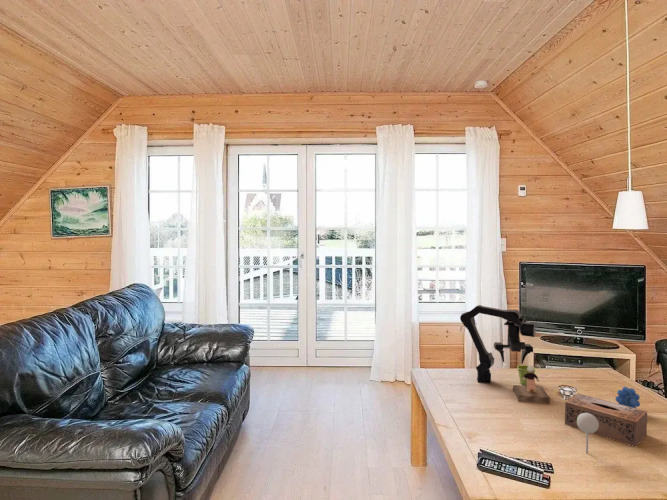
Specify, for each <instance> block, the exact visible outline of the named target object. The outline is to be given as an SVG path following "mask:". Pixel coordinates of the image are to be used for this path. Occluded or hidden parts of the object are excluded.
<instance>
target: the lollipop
mask: <svg viewBox="0 0 667 500" xmlns="http://www.w3.org/2000/svg"><path fill="white" fill-rule="evenodd" d="M577 425H578V427H579V428H580V429H579V428H578V429H579V430H580V431H582V432H583V433H586V434H585V439H586V440H585V453H586V454H588V453H589V434H594V432H596V431H597V429H598V427H599V423H598V420H597V419H596V417H595V416H593V415H592V414H589V413H582V414H580V415H579V416H578V417H577Z"/></svg>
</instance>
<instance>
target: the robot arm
mask: <svg viewBox="0 0 667 500" xmlns="http://www.w3.org/2000/svg"><path fill="white" fill-rule="evenodd" d="M479 314H482V315H486V316H492V317H496V318H501V319H503V320H505V321H506V322H504V323H503V325H504V326H507V344H503V342H497V341H496V342H494V343H493V349H495V350H496V351H497V352H499V354H500V357H501V360H502V363H505V350H504V349H510V351H511V352H517V353H521V358H520V364H521V365H523V363H524V361H525V359H526V357H527V356H528V354H531V353H534V347H533V346H532V345H531V344H530V343H526V342H525V341H521V340H520V339H521V338H520V335H522V336H524V337H531V338H535V337H536V332H537V331H536V325H535V323H533V322H531V323H528V322H526V321H525V320H524V318H523V317H522V315H521V314H522V313H521V312H520V311H519V310H517V309H500V308H495V307H489V306H484V305H481V304H478V305H476V306H474V308H472V309H471V310H470V311H469V310H468V311H466V312H464V313H461V315H460V316H459V320H460V322H461V323H462V325H463V326H464V327H465V328H466V329H467V331H468V333H469V335H470V337H471V340H472V341H473V344H474V346H475V349H476V351H477V353H478V359H479V364H478V365H477V366H476V367H475V368H476V371H477V375H476V380H477V383H485V384H491V381H492V373H491V370H490V369H491V368H492V367H493V366H494V365H495V357H494V355H493V353H492V352H489V351H488V350H487V349H486V346H485V344H484V342H483V340H482V337H481V335H480V333H479V330H478V329H477V326H476V319H475V317H476V316H477V315H479Z"/></svg>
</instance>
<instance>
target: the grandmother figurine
mask: <svg viewBox="0 0 667 500" xmlns="http://www.w3.org/2000/svg"><path fill="white" fill-rule="evenodd" d="M527 366H528V367H527V370H528V372H529V373H527V374H525V375H524V377H523V379H522V380H525V378H527V385H526V386H527V391H528V392H531V390H532V392H536V390H535V386H536V382H537V383H539V382H540V380H539V377H538V376H537V374H536V373H533V371H534V368H535V367H534V366H533V365H527ZM535 380H536V381H535Z"/></svg>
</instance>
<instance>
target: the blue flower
mask: <svg viewBox="0 0 667 500" xmlns="http://www.w3.org/2000/svg"><path fill="white" fill-rule="evenodd" d="M616 393H617V395H616V397H615V401H616V403H617V404H621V405H625V406H628V407H632V408H636V409H637V408H639V407H640V406H641V403H640V394H638V393H636V390H635V389H634V388H632V387H630V388H629V387H627V386H623V387H622V388H621V389H618V390H617V391H616Z"/></svg>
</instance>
